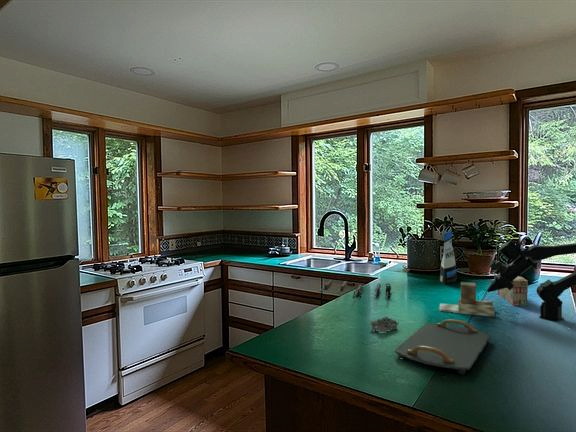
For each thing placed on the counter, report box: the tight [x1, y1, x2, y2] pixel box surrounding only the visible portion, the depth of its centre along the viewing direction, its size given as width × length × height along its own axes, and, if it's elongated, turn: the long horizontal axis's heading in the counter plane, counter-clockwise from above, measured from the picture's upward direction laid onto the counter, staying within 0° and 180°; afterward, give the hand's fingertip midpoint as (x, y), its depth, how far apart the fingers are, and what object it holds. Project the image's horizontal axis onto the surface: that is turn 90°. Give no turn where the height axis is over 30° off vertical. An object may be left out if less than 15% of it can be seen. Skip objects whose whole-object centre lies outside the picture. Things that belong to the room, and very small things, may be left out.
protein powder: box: [439, 229, 458, 285], centre depth 229 cm, size 10×24×30 cm, turn 147°
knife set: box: [318, 279, 392, 300], centre depth 198 cm, size 35×33×8 cm
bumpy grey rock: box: [369, 316, 400, 333], centre depth 147 cm, size 11×8×4 cm
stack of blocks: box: [497, 276, 529, 307], centre depth 184 cm, size 21×6×12 cm, turn 168°
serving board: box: [394, 318, 491, 376], centre depth 126 cm, size 39×23×6 cm, turn 142°
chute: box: [438, 298, 496, 317], centre depth 168 cm, size 22×10×4 cm, turn 66°
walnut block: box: [460, 281, 477, 305], centre depth 168 cm, size 6×6×11 cm
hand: (487, 291), depth 164 cm, fingers closed
